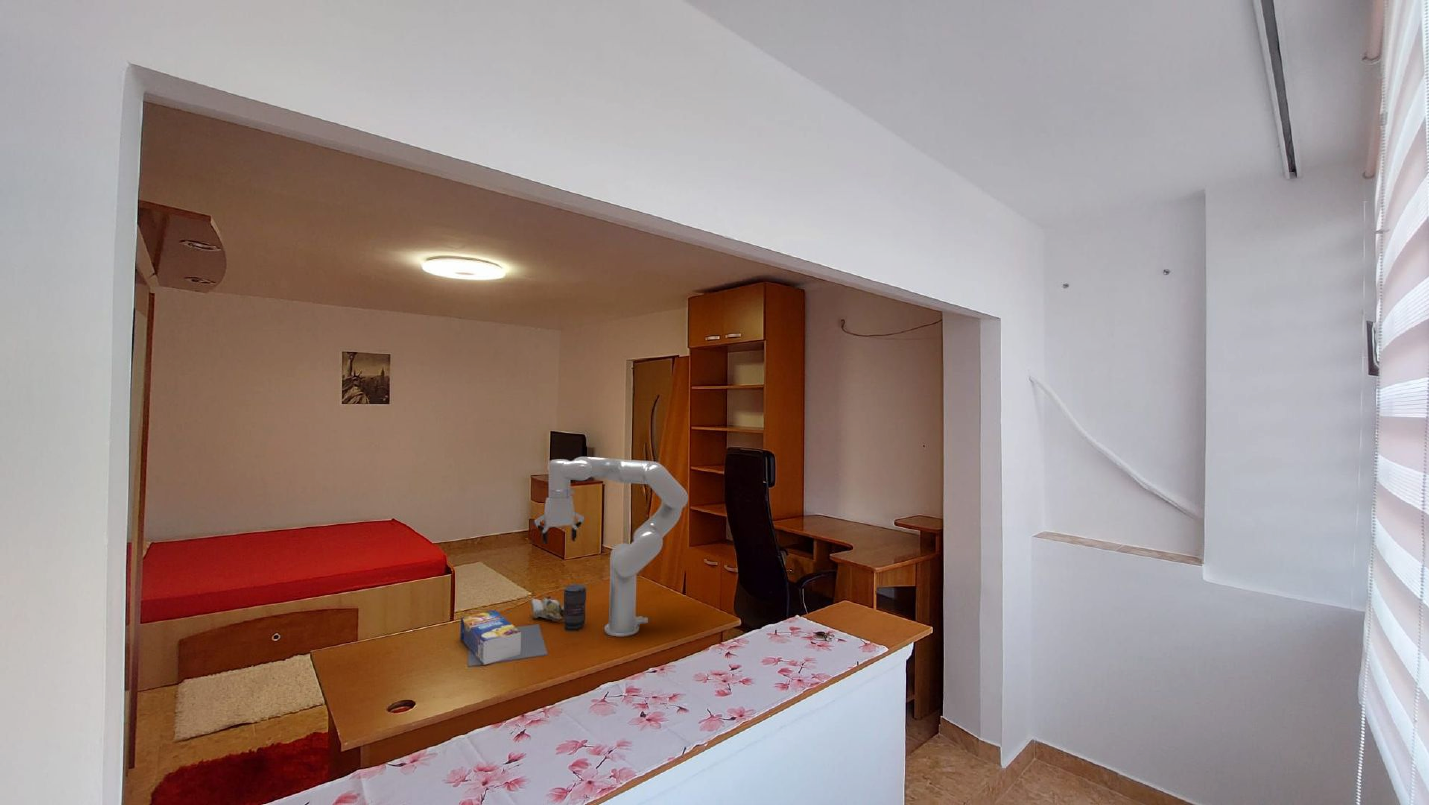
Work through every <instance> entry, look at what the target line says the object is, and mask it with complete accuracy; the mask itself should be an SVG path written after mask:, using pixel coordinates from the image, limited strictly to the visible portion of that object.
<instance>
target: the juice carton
mask: <svg viewBox="0 0 1429 805" xmlns="http://www.w3.org/2000/svg"><path fill="white" fill-rule="evenodd" d="M516 627H517V626H514V625H513V624H512V623H511V622H510V621H509V620H508V619H506V618H505V616H503V615H502V614H500V613H499V612H498V611H497V610H496V609H493V610H489V611H485V612H480V613H477V614H471V615H466V616H462V617H460V630H459V632H460V633H459V634H460V639H459V640H461V641H462V642H463V644H464V645H465V646H466V647H467V648H469V649H470V650H471V651H472V652H473V653H474V655H475V656H476V657H477V658H478V659H479V660H480V661H481V662H482V663H483V665H482V666H485V664H486V665H490V664H489V663H492V662H496V661H499V660H503V659H507V658H510V657H514V656H517V655H520V653H521V632H520V631H519V630H518V629H517V628H516ZM492 664H493V663H492Z"/></svg>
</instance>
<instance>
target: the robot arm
mask: <svg viewBox="0 0 1429 805" xmlns="http://www.w3.org/2000/svg"><path fill="white" fill-rule="evenodd" d="M589 478H599V479H600V478H601V479H606V480H610V481H612V482H616V483H622V484H640V485H648V486H649V487H650V488H651V489H652V491H653V492H654V493H655V494H656V495H657V496H658V497H659V498H660V499H661V503H660V506H659V507H658V510H656V512H654V514H652V516H650V517H649V519H647V520H646V521H645V522H644V523H643V524H641V526H639V527H638V528H637V529H636V530H635V531H634V533H633V541H632V542H631V543H630V544H629V543H625V542H624V543H623V542H622V543H618V544H616V545H615V546H614V547H613V548H612V550H611V552H610V555H609V609H608V610H609V611H608V612H609V613H608V614H609V615H608V623H607V624H606V625H605V626H604V632H605V633H606V634H607V635H609V636H612V637H629V636H633V635H634V634H637V633H638V632H639V630H640V624H648V622H649V619H648V617H643V615H642V616H641V615H640V616H636V604H637V603H636V598H637V597H636V596H637V574H638V573H639V572H640V571H641V570H642V569H644V567H646V566H647V565H648V564H649V563H650V562H651V561H652V560H653V559H654V558H655V557H657V555H659V553H660V551H661V550H662V548H663V543H664V540H663V538H664V537H665V536H666V535H667V534H668V533H669V532H670V531H671V530H672V528H674V527H675V525H677V523H678V521H679V520H680V517H681V516H682V512H683V508H684V507H686V506H687V503H688V501H689V495H688V493H687V491H686V489H685V488H684V487H683V486H682V485H681V484H680V483H679V482H678V481H677V480H676V479H675V477H673V475H671V473H670V472H669V471H668V469H667V468H666V467H665V466H663V465H662V464H661V463H659V462H657V461H651V460H636V459H635V460H634V459H620V458H608V457H607V458H606V457H592V456H579V457H576V458H574V459H573V460H569V459H565V458H563V459H562V458H560V459H559V458H557V459H551V460H549V462H548V497H546V498H545V505H544V514H542V515H541V516H540V517H538V518H536V519H534V524H535V526H536V528H537V529H538V530H539V531H541V533H542V534H541V535H542V539H541V540H542V542H543V543H544V544H545V545H548V532H547V531H548V530H549V529H550V528H556V527H569V526H571V530H570V532H571V537H570V538H571V541H572V542H575V541H576V539H577V535H578V534H577V532H578V531H577V530H578V529H579V527H581V525H582V523H583V522H584V519H585V516H584V515H581V514H579V513H577V512H575V506H574V499H573V496H572V495H575V493H576V492H575V490H574V489H571V480H572V481H586V480H588V479H589ZM575 518H577V519H578V521H577V522H576V523H575V520H576V519H575ZM542 521H543V522H544V525H541V522H542Z"/></svg>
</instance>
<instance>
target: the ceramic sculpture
mask: <svg viewBox="0 0 1429 805" xmlns="http://www.w3.org/2000/svg"><path fill="white" fill-rule="evenodd" d="M530 603H531V605H530V606H531V607H530V608H531V611H532V616H533V619H538V618H543V619H546V620H551V621H553V622H559V621H564V619H563V617H562V615H564V605H562V603H561V602H560V601H559V600H558V599H554V598H551V596H546V597H544V598H543V599H542V600H540V599H537V598H533V597H532V598H531V602H530Z"/></svg>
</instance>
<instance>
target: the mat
mask: <svg viewBox="0 0 1429 805" xmlns="http://www.w3.org/2000/svg"><path fill="white" fill-rule="evenodd" d="M515 627H516V628H517V629H518V630H519V631H520V632H521V653H520V655H517V656H514V657H510V658H507V659H503V660H499V661H496V662H492V663H489V664H488V665H491V664H498V663H505V662H511V661H512V662H513V661H517V660H518V661H519V660H525V659H532V658H540V657H543V656H548V652H547V648H546V644H545V641H544V637H543V634H542V631H541V627H540V624H539V623H538V624H530V625H523V626H521V625H520V626H515ZM467 648H468V647H467ZM467 651H468V656H467V657H468V658H467V659H468V660H467V664H468V666H467V667H468V668H470V667H478V666H485V665H486V666H487V664H485V665H483V663H482V662H481V661H480V660H479V659H478V658H477V657H476V656H475V655H474V653H473V652H472V651H471V650H470V649H469V648H468V649H467Z"/></svg>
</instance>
